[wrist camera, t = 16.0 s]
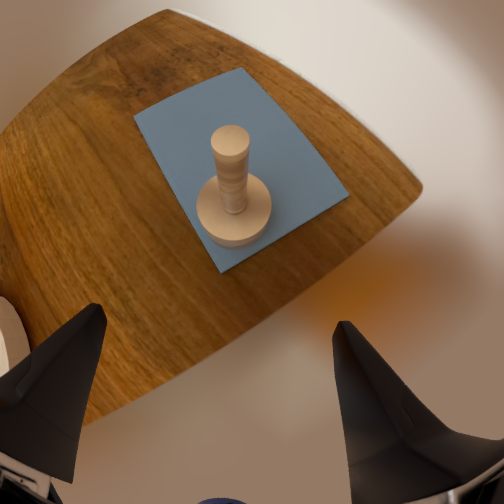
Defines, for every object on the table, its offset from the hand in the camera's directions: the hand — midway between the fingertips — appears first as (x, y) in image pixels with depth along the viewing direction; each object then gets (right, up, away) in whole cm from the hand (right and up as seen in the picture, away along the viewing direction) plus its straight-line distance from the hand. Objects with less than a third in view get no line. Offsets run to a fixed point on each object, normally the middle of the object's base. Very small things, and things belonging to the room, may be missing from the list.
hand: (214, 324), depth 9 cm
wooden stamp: (0, +5, +14) cm, 15 cm away
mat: (-1, +13, +16) cm, 20 cm away
